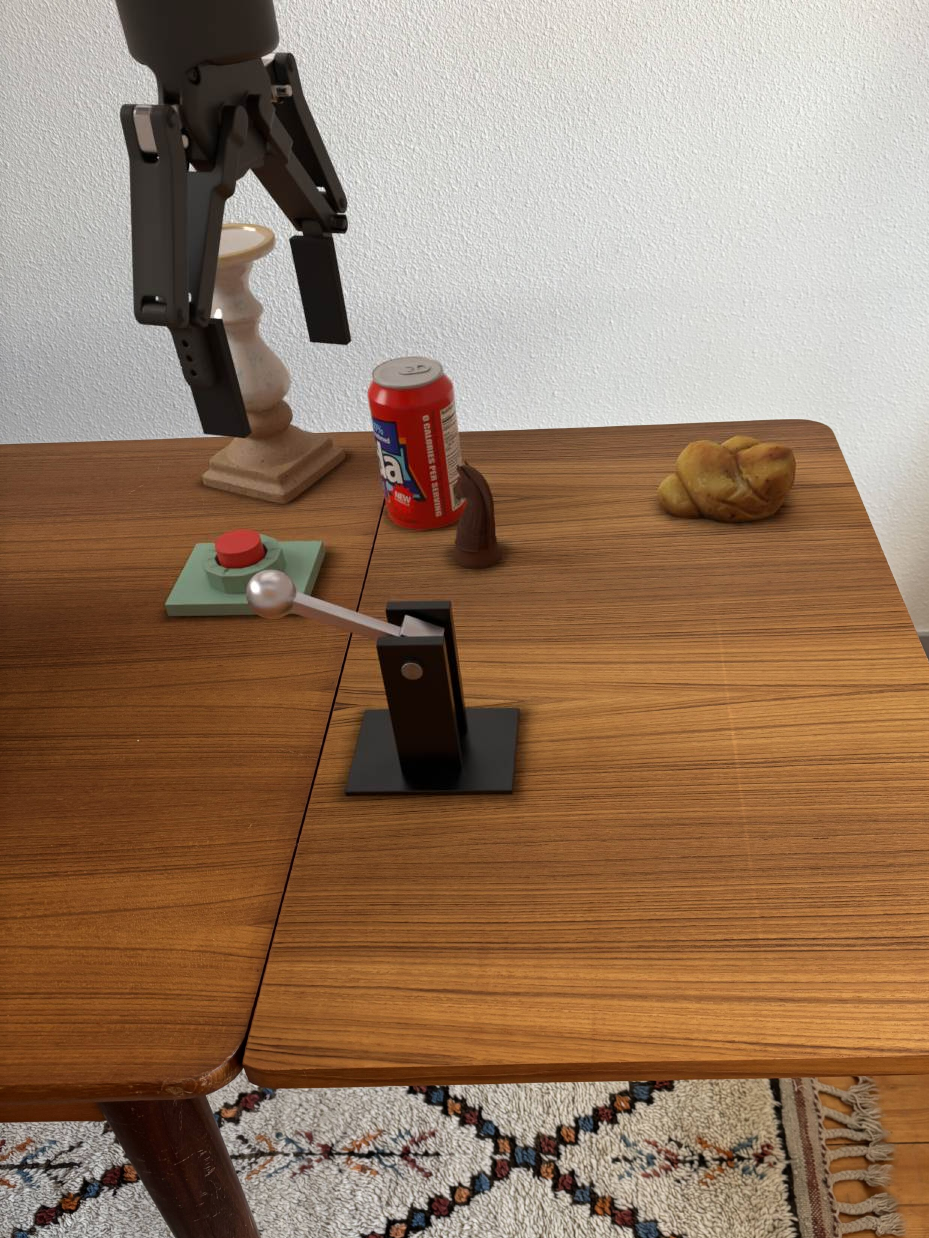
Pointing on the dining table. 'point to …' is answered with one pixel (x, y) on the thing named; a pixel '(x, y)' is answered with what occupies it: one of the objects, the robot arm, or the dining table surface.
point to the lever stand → (430, 721)
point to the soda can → (416, 441)
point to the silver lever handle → (324, 609)
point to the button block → (240, 577)
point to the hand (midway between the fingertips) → (283, 384)
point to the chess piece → (475, 521)
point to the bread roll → (729, 480)
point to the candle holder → (260, 387)
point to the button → (239, 549)
